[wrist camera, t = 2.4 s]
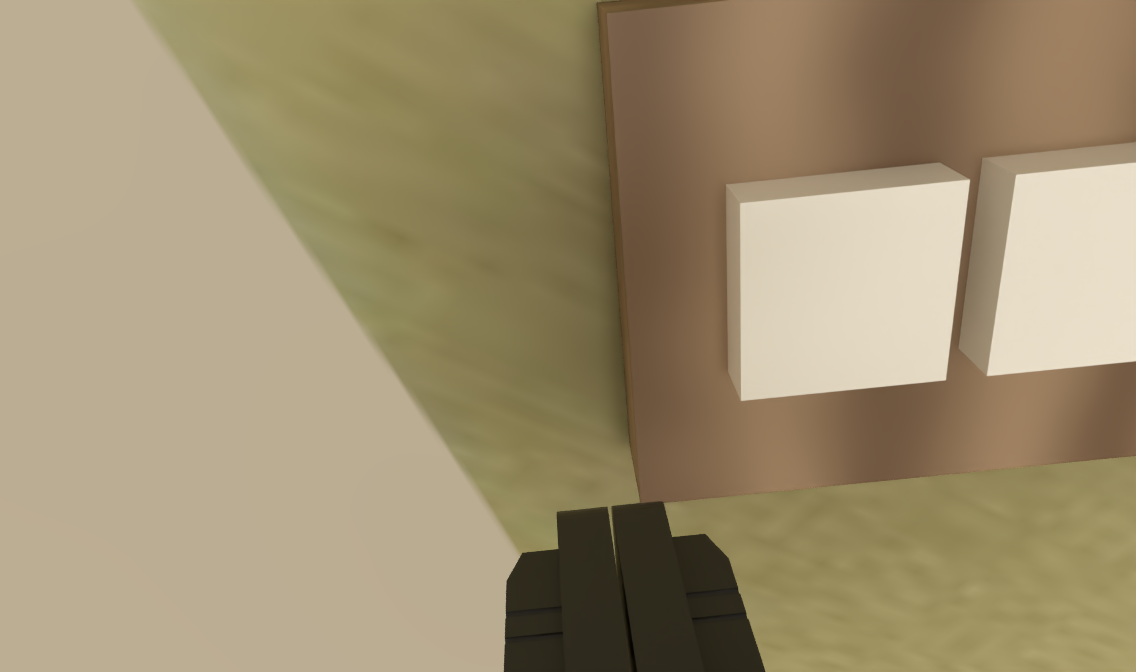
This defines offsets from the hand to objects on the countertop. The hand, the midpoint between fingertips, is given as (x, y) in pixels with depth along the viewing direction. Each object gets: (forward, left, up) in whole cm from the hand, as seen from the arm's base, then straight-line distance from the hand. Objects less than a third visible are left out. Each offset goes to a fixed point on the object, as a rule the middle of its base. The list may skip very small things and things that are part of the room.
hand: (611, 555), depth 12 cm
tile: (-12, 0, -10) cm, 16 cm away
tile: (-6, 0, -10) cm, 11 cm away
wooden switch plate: (-8, 0, -13) cm, 15 cm away
